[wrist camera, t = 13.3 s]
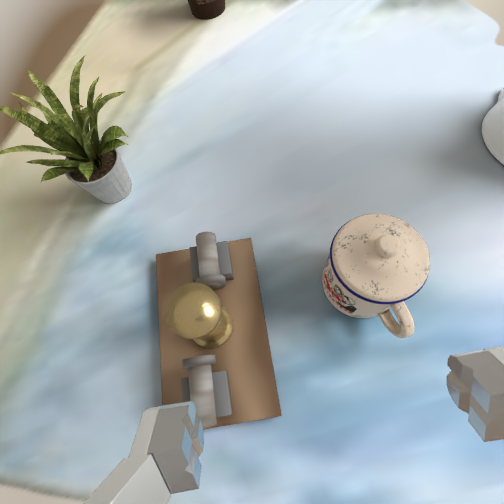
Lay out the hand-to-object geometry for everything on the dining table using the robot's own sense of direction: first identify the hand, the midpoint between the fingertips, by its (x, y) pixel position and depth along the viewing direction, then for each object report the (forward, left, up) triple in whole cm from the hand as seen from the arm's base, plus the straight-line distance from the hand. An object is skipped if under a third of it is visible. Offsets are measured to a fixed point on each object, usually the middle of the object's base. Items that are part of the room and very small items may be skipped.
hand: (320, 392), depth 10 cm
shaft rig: (+8, -7, -26) cm, 28 cm away
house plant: (+19, -30, -26) cm, 44 cm away
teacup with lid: (-10, -8, -26) cm, 30 cm away
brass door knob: (+7, -7, -25) cm, 27 cm away
